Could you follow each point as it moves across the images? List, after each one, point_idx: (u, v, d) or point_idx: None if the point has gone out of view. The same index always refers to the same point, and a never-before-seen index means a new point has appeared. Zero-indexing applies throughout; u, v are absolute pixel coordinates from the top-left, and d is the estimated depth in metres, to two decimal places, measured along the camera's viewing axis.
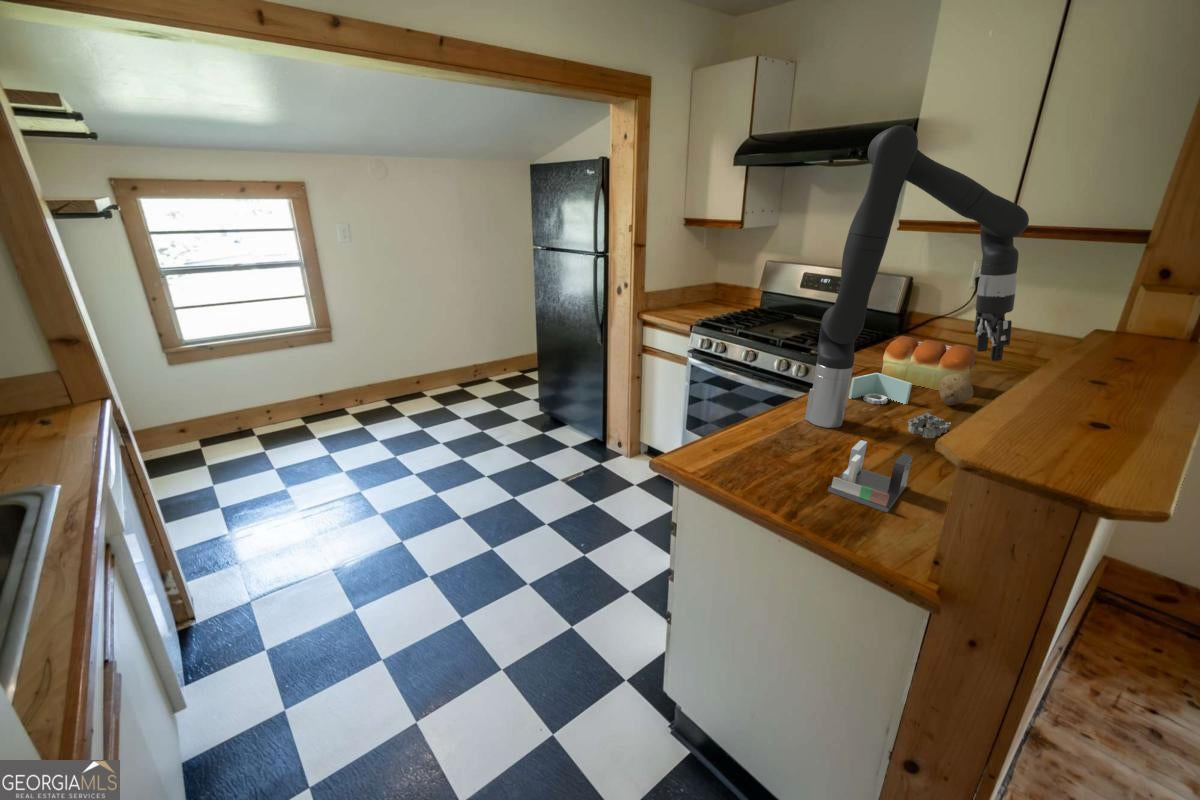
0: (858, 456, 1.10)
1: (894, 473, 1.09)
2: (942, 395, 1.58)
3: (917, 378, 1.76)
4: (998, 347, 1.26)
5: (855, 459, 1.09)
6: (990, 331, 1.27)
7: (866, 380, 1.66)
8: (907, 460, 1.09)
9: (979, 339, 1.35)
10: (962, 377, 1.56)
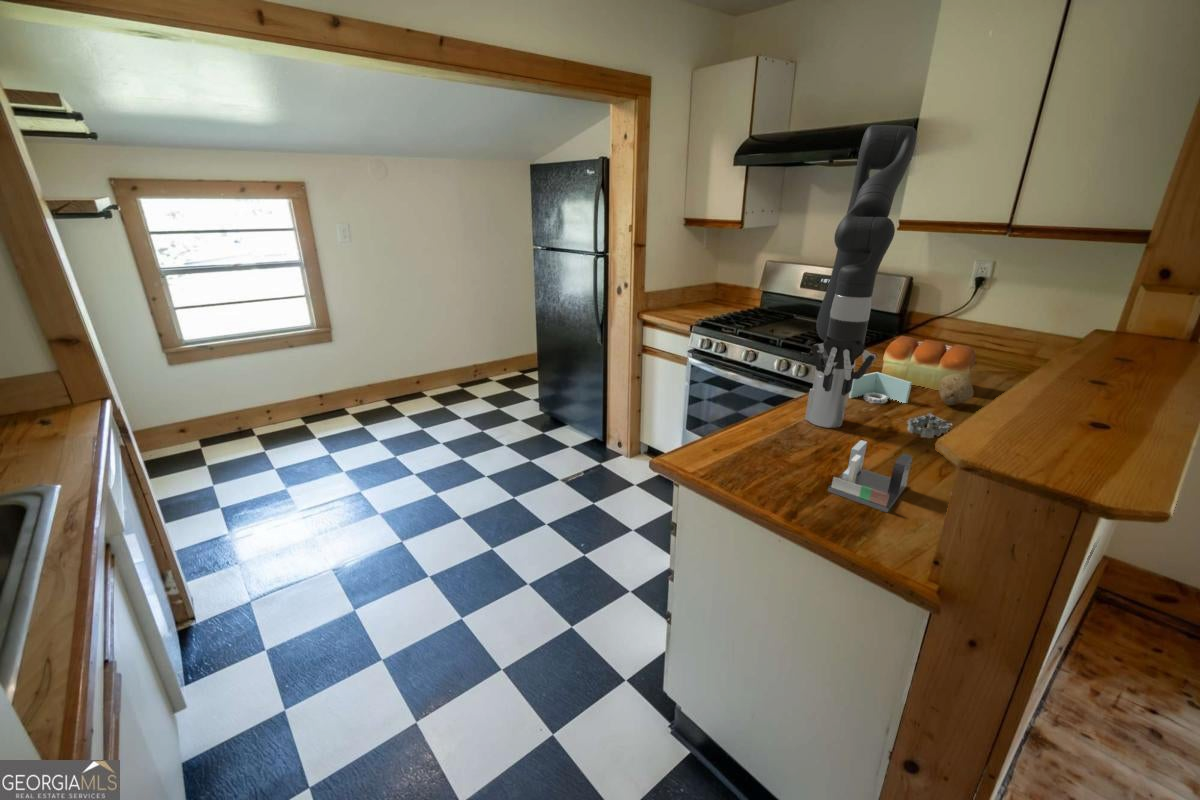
0: (858, 456, 1.10)
1: (894, 473, 1.09)
2: (942, 395, 1.58)
3: (918, 378, 1.76)
4: None
5: (855, 459, 1.09)
6: None
7: (866, 379, 1.67)
8: (907, 460, 1.09)
9: None
10: (962, 377, 1.56)
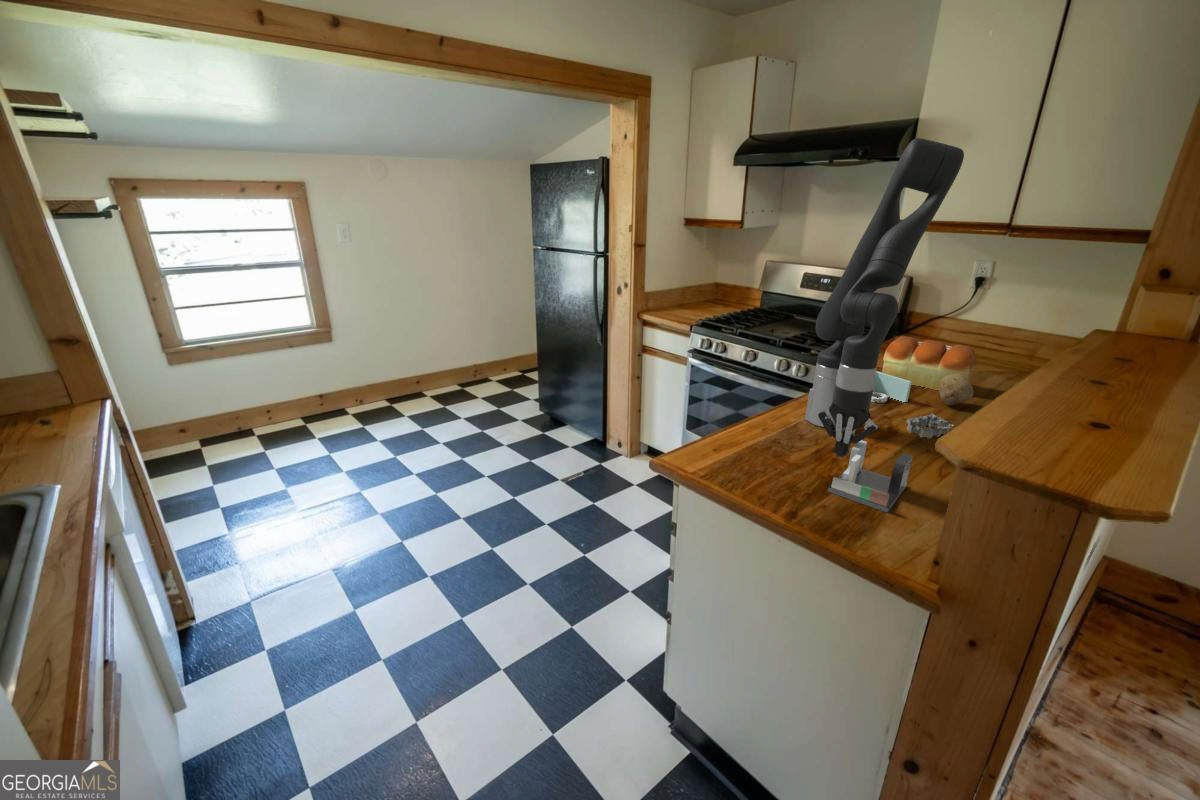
0: (858, 456, 1.10)
1: (894, 473, 1.09)
2: (942, 395, 1.58)
3: (918, 378, 1.76)
4: None
5: (855, 459, 1.09)
6: None
7: None
8: (907, 460, 1.09)
9: None
10: (962, 377, 1.56)
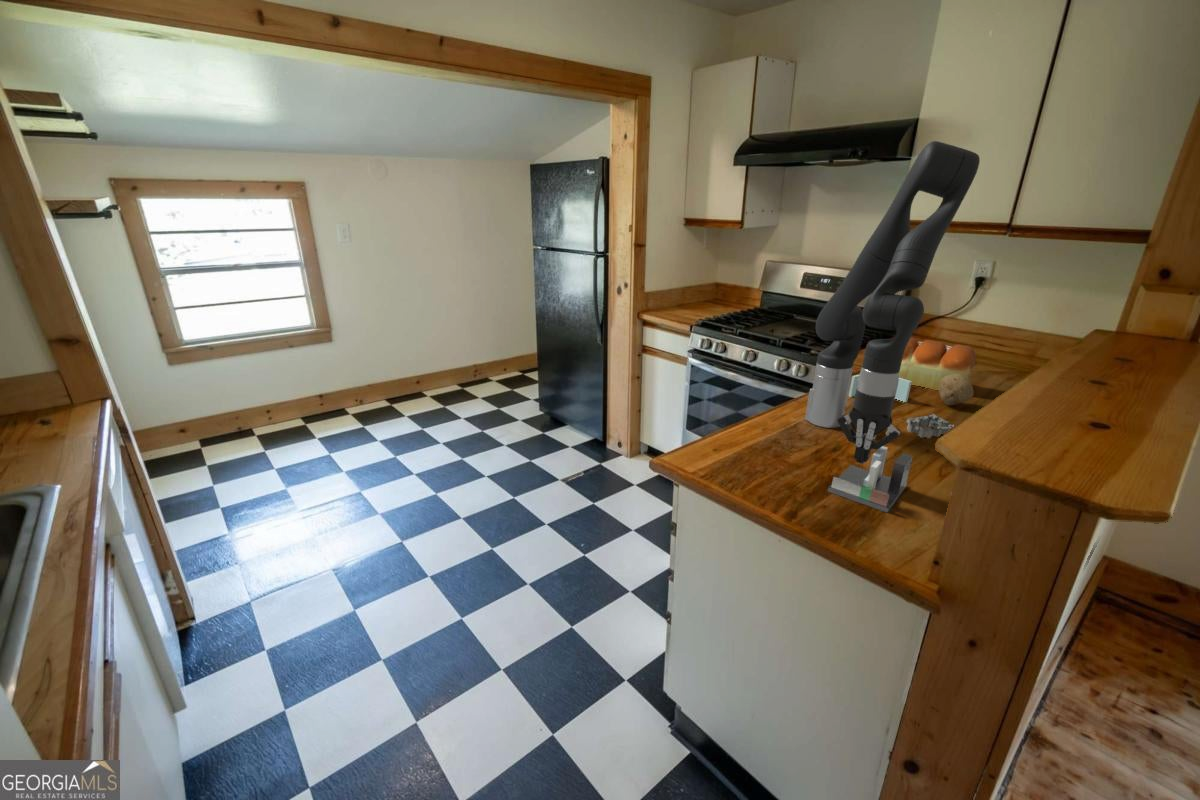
0: (878, 462, 1.08)
1: (894, 473, 1.09)
2: (942, 395, 1.58)
3: (918, 378, 1.76)
4: None
5: (875, 465, 1.07)
6: None
7: None
8: (907, 460, 1.09)
9: None
10: (962, 377, 1.56)
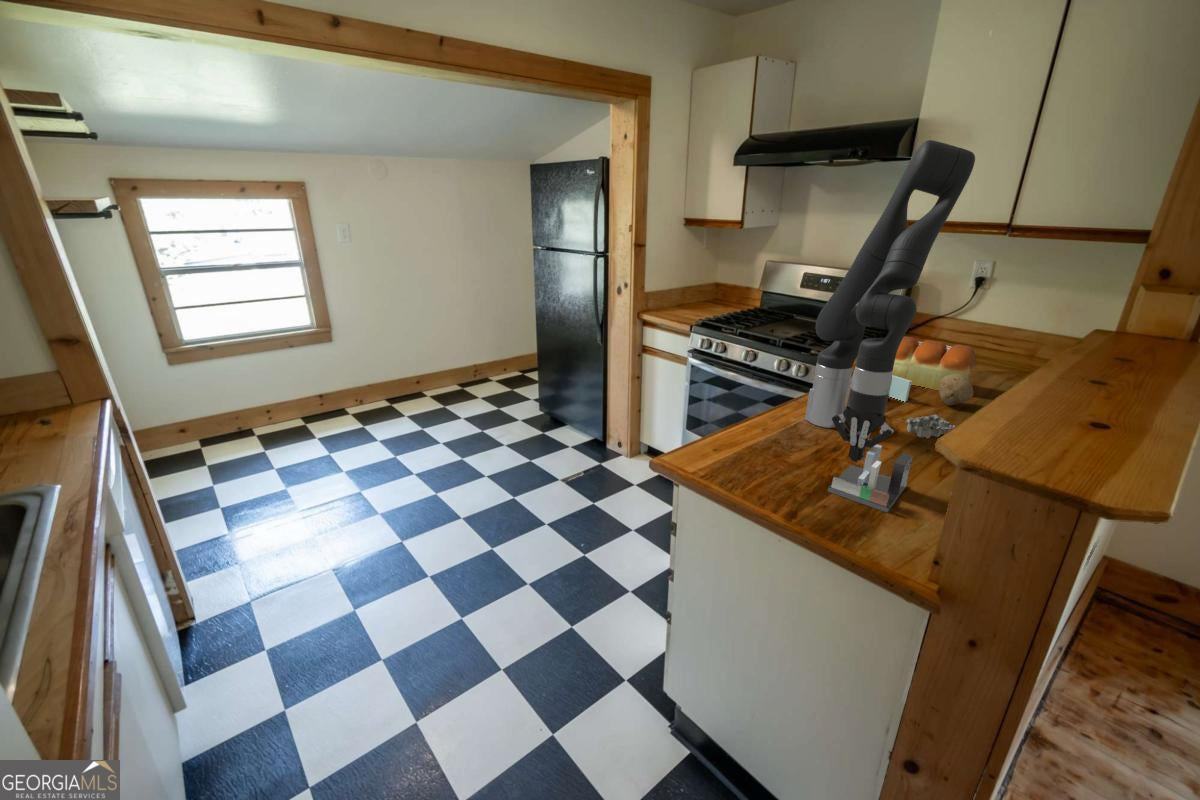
0: (878, 462, 1.08)
1: (894, 473, 1.09)
2: (942, 395, 1.58)
3: (918, 378, 1.76)
4: None
5: (876, 465, 1.07)
6: None
7: None
8: (907, 460, 1.09)
9: None
10: (962, 377, 1.56)
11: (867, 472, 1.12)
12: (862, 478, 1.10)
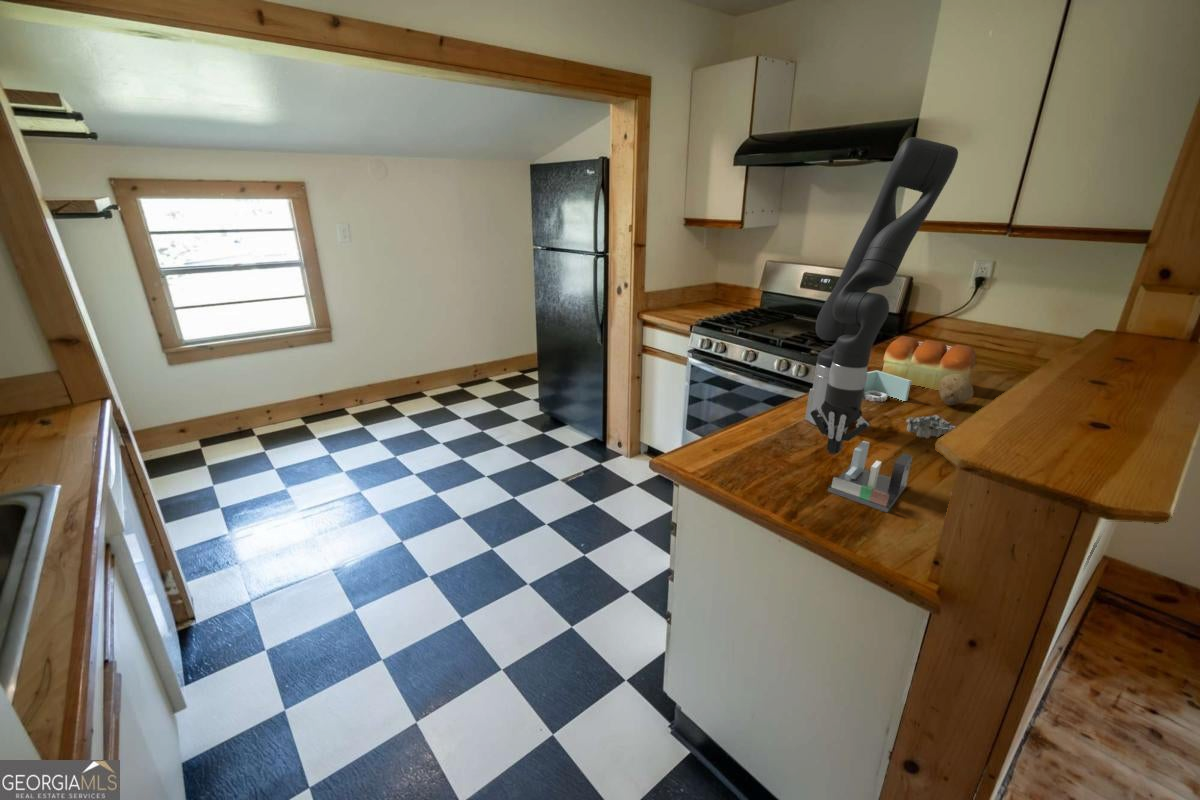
0: (878, 462, 1.08)
1: (894, 473, 1.09)
2: (942, 395, 1.58)
3: (918, 378, 1.76)
4: None
5: (876, 465, 1.07)
6: None
7: None
8: (907, 460, 1.09)
9: None
10: (962, 377, 1.56)
11: (854, 468, 1.14)
12: (849, 474, 1.12)
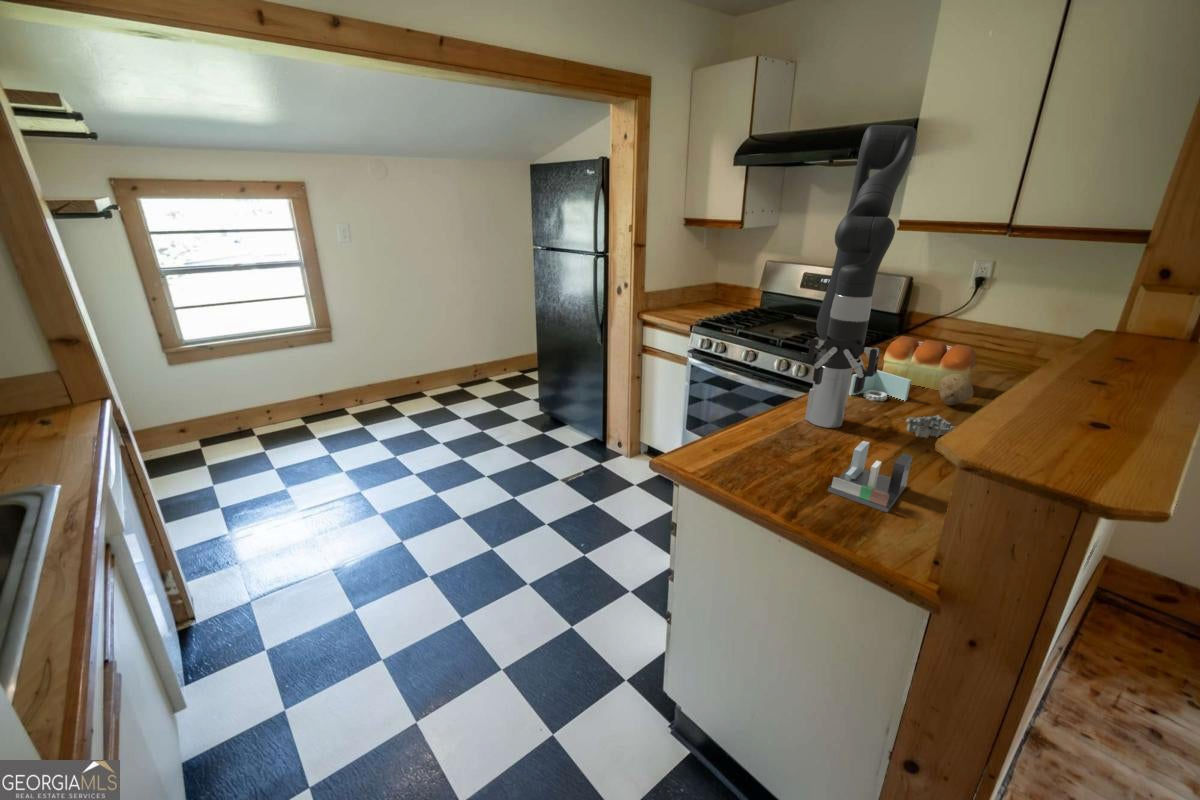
0: (878, 462, 1.08)
1: (894, 473, 1.09)
2: (942, 395, 1.58)
3: (918, 378, 1.76)
4: None
5: (876, 465, 1.07)
6: None
7: (866, 377, 1.69)
8: (907, 460, 1.09)
9: None
10: (962, 377, 1.56)
11: (854, 468, 1.14)
12: (849, 474, 1.12)
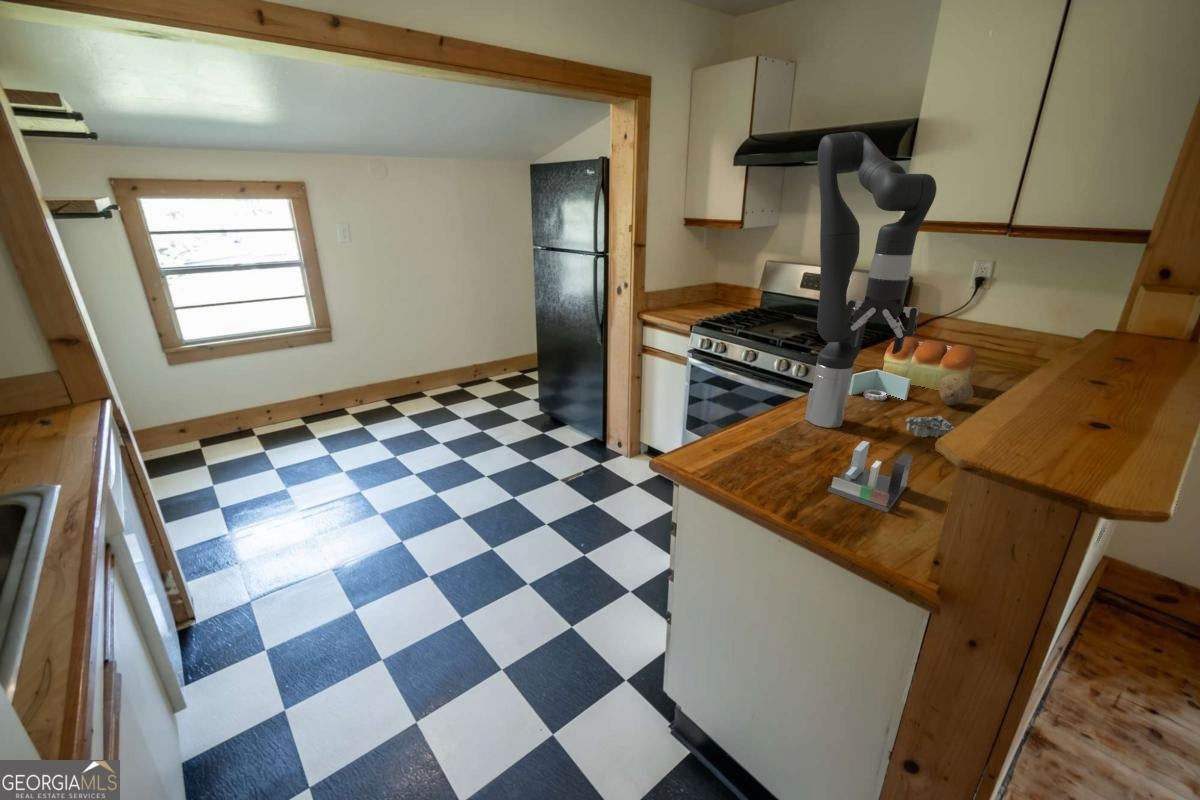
0: (878, 462, 1.08)
1: (894, 473, 1.09)
2: (942, 395, 1.58)
3: (918, 378, 1.76)
4: None
5: (876, 465, 1.07)
6: None
7: (866, 376, 1.69)
8: (907, 460, 1.09)
9: None
10: (962, 377, 1.56)
11: (854, 468, 1.14)
12: (849, 474, 1.12)
